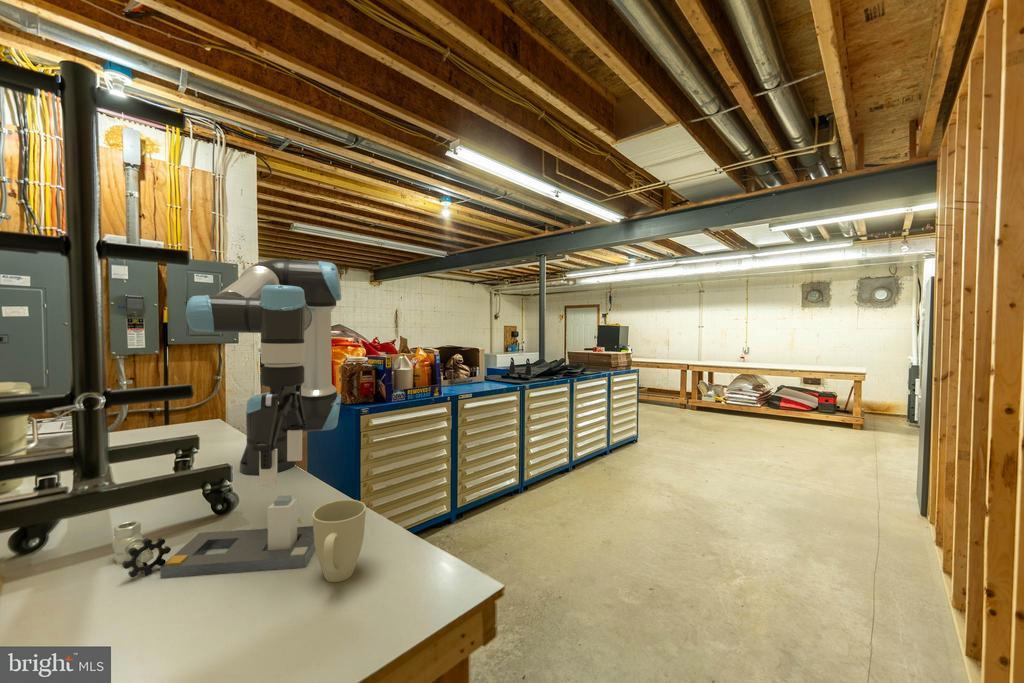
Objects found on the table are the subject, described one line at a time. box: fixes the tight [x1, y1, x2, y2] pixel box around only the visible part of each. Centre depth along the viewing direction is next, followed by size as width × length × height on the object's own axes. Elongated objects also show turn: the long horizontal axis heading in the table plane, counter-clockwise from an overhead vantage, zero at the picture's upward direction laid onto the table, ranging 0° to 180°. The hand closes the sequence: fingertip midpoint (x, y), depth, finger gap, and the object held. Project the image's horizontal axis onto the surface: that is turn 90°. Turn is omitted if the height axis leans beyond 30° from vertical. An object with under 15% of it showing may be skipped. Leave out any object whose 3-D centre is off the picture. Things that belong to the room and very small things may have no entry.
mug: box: [312, 499, 367, 583], centre depth 73 cm, size 11×10×12 cm
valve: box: [111, 520, 172, 578], centre depth 76 cm, size 7×7×12 cm
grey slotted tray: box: [159, 525, 316, 579], centre depth 80 cm, size 12×24×2 cm, turn 100°
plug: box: [267, 494, 298, 550], centre depth 81 cm, size 4×4×11 cm
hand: (282, 471), depth 80 cm, fingers open, 13 cm apart
